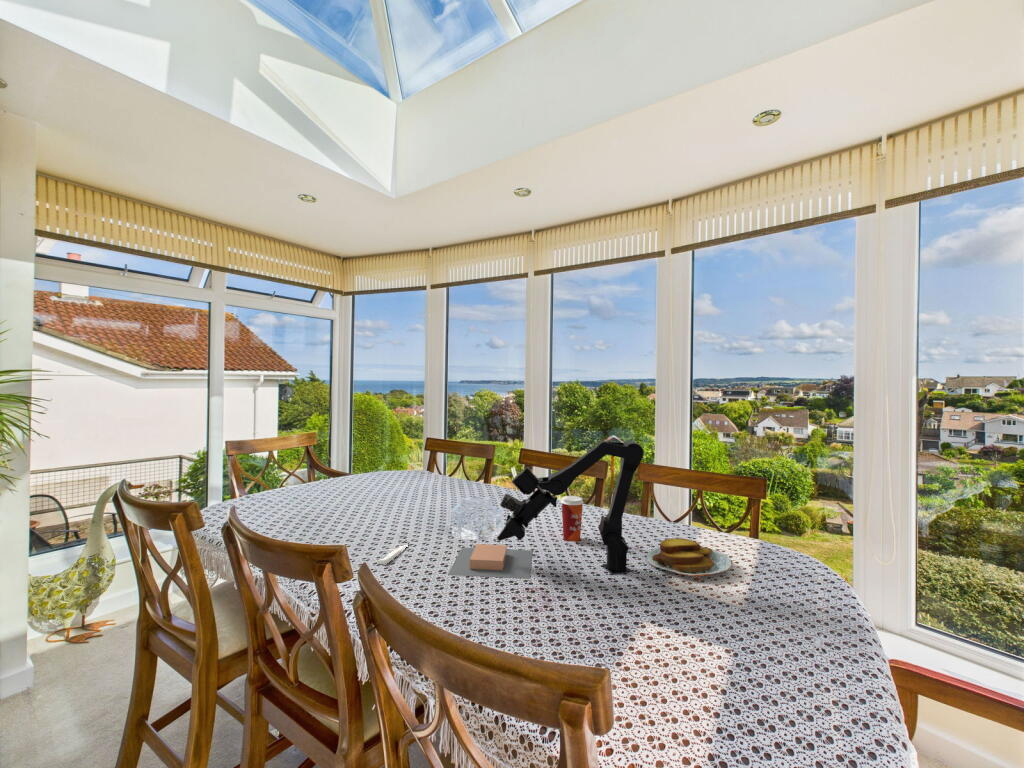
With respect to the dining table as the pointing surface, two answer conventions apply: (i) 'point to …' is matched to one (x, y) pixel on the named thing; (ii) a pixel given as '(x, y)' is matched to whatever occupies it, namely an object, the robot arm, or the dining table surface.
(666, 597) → the dining table surface
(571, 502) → the coffee cup
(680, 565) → the food on plate
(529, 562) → the mat
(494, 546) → the tile
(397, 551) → the knife
